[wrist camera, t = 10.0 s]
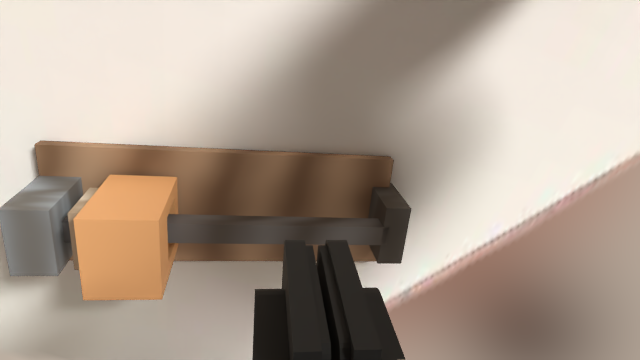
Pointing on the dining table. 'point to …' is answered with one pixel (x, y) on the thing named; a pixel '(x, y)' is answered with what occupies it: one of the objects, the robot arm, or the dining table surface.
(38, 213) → the rod slider toy
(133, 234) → the sleeve
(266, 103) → the dining table surface
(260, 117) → the dining table surface
